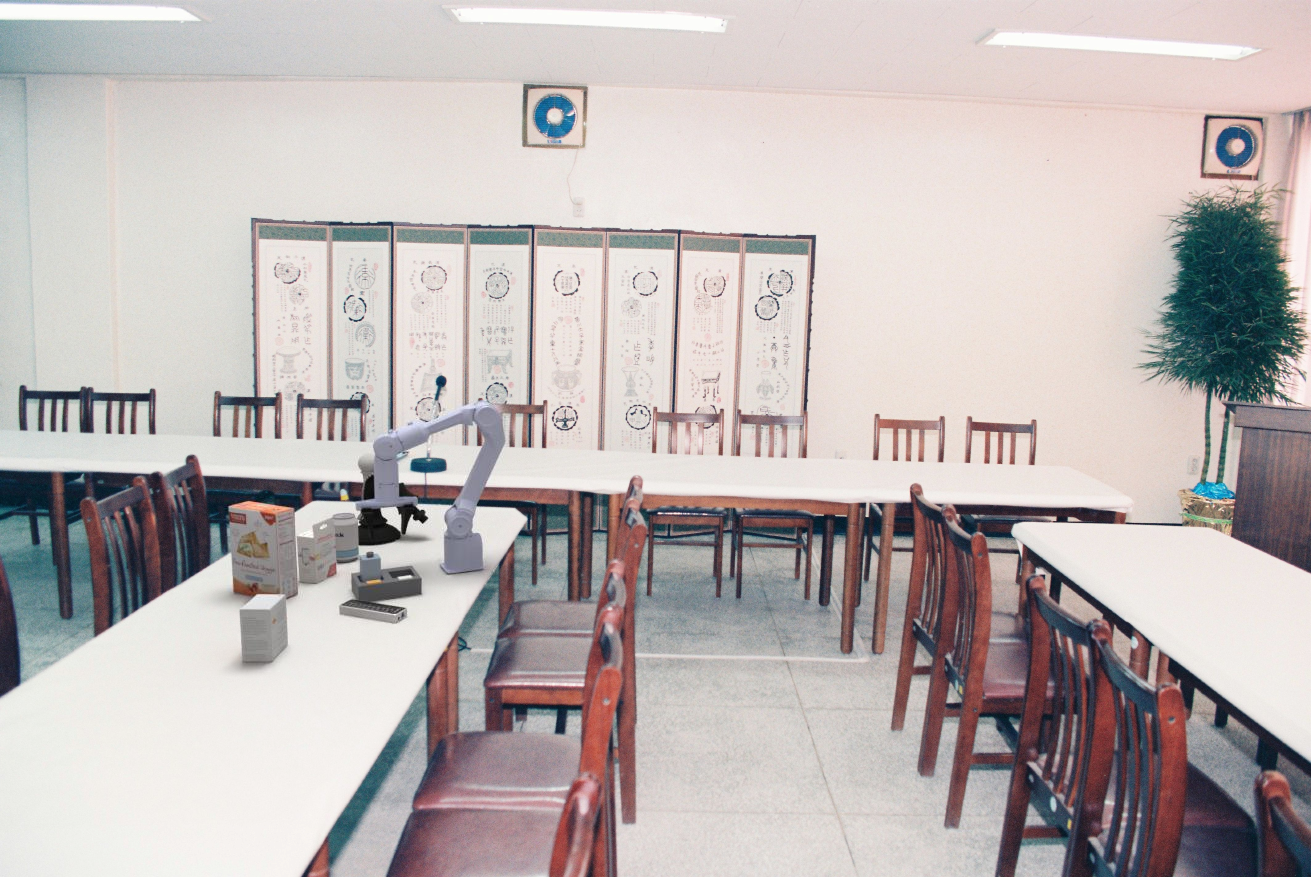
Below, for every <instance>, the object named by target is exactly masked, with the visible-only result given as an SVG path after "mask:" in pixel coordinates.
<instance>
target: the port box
mask: <svg viewBox="0 0 1311 877" xmlns="http://www.w3.org/2000/svg"><path fill="white" fill-rule="evenodd" d="M350 575H351V580H350V582H351V591H352V593H353V595H354V596H355V598H356V599H355V600H361V601H368V602H380V601H384V600H391V599H392V600H393V599H398V598H405V597H413V596H419V595H422V594H423V592H422V591H423V587H422V585H423V584H422V583H423V582H422V576H420V574H419V573H418V571H417V570H416V569H415V568H414V566H413V565H406V566H398V567H390V568H389V567H388V568H381V580H380V579H379V580H372V581H366V582H363V583H361V582H360V571H359V572H351V574H350Z"/></svg>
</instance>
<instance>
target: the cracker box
mask: <svg viewBox="0 0 1311 877" xmlns="http://www.w3.org/2000/svg"><path fill="white" fill-rule="evenodd" d="M228 519H229V520H228V521H229V522H228V523H229V539H230V556H231V557H230V558H231V572H232V573H231V574H232V575H231V576H232V588H233V589H232V590H233V593H237V594H241V595H246V596H251V597H255V596H256V595H257V594H281V595H286V600H287V599H290V598H291V597H294V596H296V595H299V588H298V587H299V586H298V585H299V584H298V582H299V581H298V565H297V564H298V558H297V536H296V517H295V508H294V507H290V506H289V507H287V506H281V505H280V506H279V505H275V504H268V503H264V502H263V503H262V502H255V501H250V500H248V501H244V502H240V503H235V504H232V505H229V506H228Z"/></svg>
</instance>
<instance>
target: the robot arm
mask: <svg viewBox="0 0 1311 877" xmlns="http://www.w3.org/2000/svg"><path fill="white" fill-rule="evenodd" d="M503 421H504V418H503V416H502V415H501V414H500V412H499V410H498V409H497V407H496V406H494V405H493V404H491V402H488V401H487V400H477V401H476V402H475V403H469V404H468V403H467V404H465V405H463V406H460V407H457V408H456V409H454V410H451V411H448V412H447V413H445V414H442V415H440V416H438V417H436V418H434V419H431V420H429V421H427V422H422V421H421V422H420V421H417V420H416V421H414V422H413V420H410V421H407V423H406V424H407V425H404V426H402V427H399V428H397V429H394V430H393V428H391V429H388V433H382V434H379V435H378V436H376V438H375V439H374V441H373V444H372V448H373V453H374V454H375V457H374V462H375V464H374V486H375V499H370V500H365V501H362V500H359V501H355V510H356V511H357V512H361V513H362V515H363V517H364V519H365V522H366V524H367V527H368V531H369V536H370V538H374V529H373V517H374V514H373V512H372V510H371V509H377V508H381V509H387V508H396V507H399V506H400V509H401V514H400V519H401V520H400V521H401V522H400V532H401V535H402V536H405V535H407V529H408V525H409V522H410V520H411V517H412V516H413V515H412V514H413V512H414V507H413V506H416V507H418V504H419V503H418V502H419V500H418V499H419V497H418V498H417V497H399V483H400V482H399V480H400V478H399V476H400V474H399V473H400V472H399V463H398V454H399V452H401V453H404V452H406V451H409V450H411V449H413V448H416V447H419V446H420V445H422V444H425V443H427V442H428V440H429V437H430V436H432V435H434V434H436V433H438V432H443V431H445V430H447V429H450V428H453V427H456V426H458V425H465V426H471V427H472V426H474V423H475V425H476V426H477V427H478V428H479V431H480V432H481V435H482V437H483V440H484V442H483V443H482V447H481V448H480V450H479V453H478V454H477V456H476V459H475V461H474V463H473V466H472V467H471V470H470V472H469V474H468V475H467V476H468V477H467V479H466V480H465V483H464V485H463V486H462V489H461V491H460V493H459V495H458V496H457V498H456V499H455V500H454V502H453V504H452V506H450V507H449V508H448V509H447V510H446V511H445V513H444V515H443V520H444V523H445V524H446V527H447V529H446V530H445V532H444V533H443V552H444V554H443V556H444V557H443V559H444V560H443V562H441V563H439V566H440V567H441V568H442V570H443V571H444V572H445V573H446V574H449V575H450V574H457V573H464V572H471V571H472V572H473V571H480V570H484V565H483V563H484V561H483V560H484V559H483V558H484V557H483V552H484V550H483V549H484V548H483V547H484V545H483V539H482V535H481V533H479V532H473V526H474V523H473V522H474V521H473V520H474V517H475V515H476V510H477V504H478V503H479V501H480V498H481V495H482V494H483V492H484V489H485V487H486V485H487V483H488V480H489V478H490V477H491V475H492V472H493V471H494V470H493V469H494V468H495V466H496V464H497V461H498V459H499V457H500V455H501V453H502V451H503V449H504V446H505V443H506V437H505V429H504V422H503Z"/></svg>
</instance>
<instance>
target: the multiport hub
mask: <svg viewBox="0 0 1311 877" xmlns="http://www.w3.org/2000/svg"><path fill="white" fill-rule="evenodd" d="M338 606H339V611H338V612H339V615H343V614H344V616H350V617H355V618H356V617H357V618H360V619H361V618H362V619H367V620H373V621H379V622H386V623H392V624H396V623H398V622H400V621H403V620H404V619H405V618H407V617H408V607H403V606H399V605H392V604H384V603H379V602H375V601H373V602H368V601H361V600H357V599H355V598H352V599H349V600H346V601H345V602H343V603H341V604H339V605H338Z"/></svg>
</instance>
